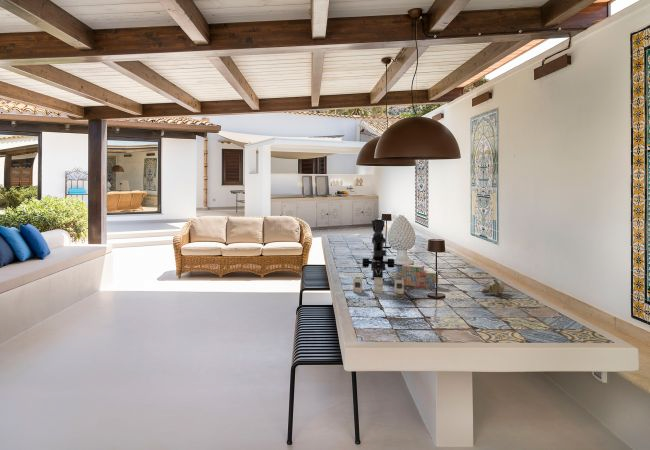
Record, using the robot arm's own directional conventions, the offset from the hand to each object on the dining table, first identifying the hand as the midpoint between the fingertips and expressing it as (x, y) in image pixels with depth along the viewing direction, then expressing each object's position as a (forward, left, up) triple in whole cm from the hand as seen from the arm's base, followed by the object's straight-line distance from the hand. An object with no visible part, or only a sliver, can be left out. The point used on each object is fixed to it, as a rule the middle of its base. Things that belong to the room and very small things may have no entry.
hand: (378, 274), depth 281 cm
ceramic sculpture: (+42, +51, -10) cm, 67 cm away
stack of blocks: (+2, +33, -10) cm, 34 cm away
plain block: (0, 0, -10) cm, 10 cm away
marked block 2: (+8, +9, -10) cm, 16 cm away
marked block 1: (-8, -9, -10) cm, 16 cm away
